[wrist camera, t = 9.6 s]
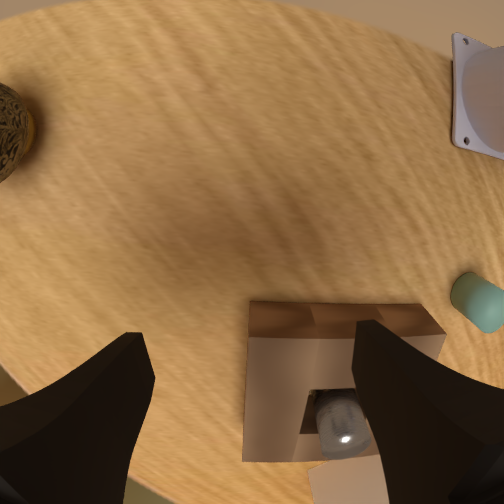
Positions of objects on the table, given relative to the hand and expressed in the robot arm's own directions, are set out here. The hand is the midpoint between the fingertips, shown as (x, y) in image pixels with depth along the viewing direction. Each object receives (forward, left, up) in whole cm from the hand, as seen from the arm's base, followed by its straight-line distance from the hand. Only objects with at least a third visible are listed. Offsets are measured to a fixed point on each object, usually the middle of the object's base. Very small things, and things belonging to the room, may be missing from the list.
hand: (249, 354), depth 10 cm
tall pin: (-6, +9, -9) cm, 14 cm away
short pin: (-16, +2, -9) cm, 19 cm away
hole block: (-6, +9, -9) cm, 14 cm away
